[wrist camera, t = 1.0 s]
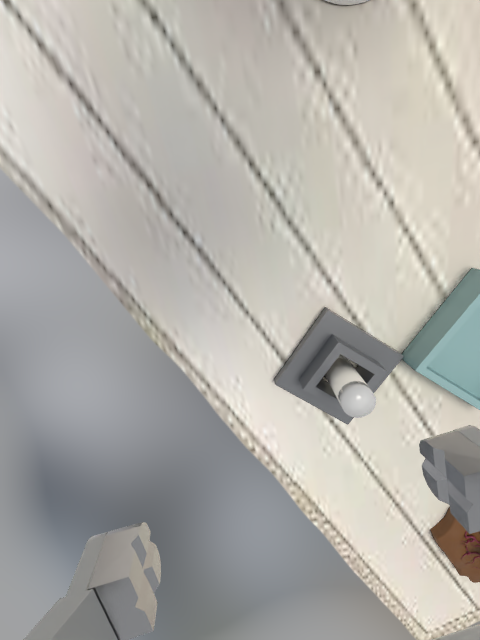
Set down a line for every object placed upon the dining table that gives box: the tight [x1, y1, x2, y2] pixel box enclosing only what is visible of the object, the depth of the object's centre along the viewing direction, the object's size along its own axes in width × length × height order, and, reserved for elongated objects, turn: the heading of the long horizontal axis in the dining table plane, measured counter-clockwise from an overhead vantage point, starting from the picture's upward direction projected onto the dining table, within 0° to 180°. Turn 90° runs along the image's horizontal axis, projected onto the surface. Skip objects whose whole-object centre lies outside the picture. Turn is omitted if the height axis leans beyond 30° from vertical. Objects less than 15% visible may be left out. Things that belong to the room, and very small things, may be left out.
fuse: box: [325, 354, 376, 418], centre depth 44 cm, size 4×4×10 cm
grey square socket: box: [274, 307, 404, 424], centre depth 46 cm, size 13×13×4 cm
